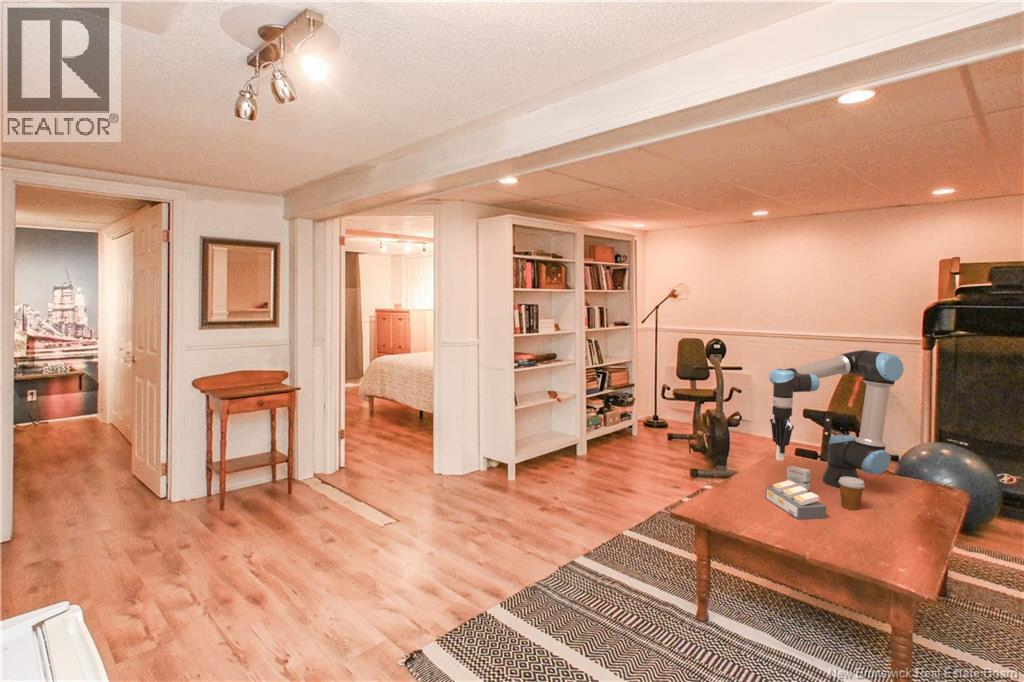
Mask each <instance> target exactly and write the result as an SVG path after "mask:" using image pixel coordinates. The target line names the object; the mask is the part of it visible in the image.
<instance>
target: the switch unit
mask: <svg viewBox="0 0 1024 682" xmlns="http://www.w3.org/2000/svg"><path fill="white" fill-rule="evenodd" d="M765 488H766V489H765V499H766V500H767V501H769V502H771V504H773V505H775V506H776V507H779V508H780V509H782V510H783V511H784V512H786V513H787V514H789V515H790V516H792V517H794V518H795V519H796V520H799V521H802V520H817V519H819V520H820V519H826V518H827V505H825V504H823V503H822V502H820V501H816V502H813V503H809V504H806V505H802V506H801V505H800V504H798V503H796V502H795V501H794V498H792V499H790V498H788V497H786V496H785V495H784V494H783V492H778V491H777V490H775V489H773V486H771V487H765Z"/></svg>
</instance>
